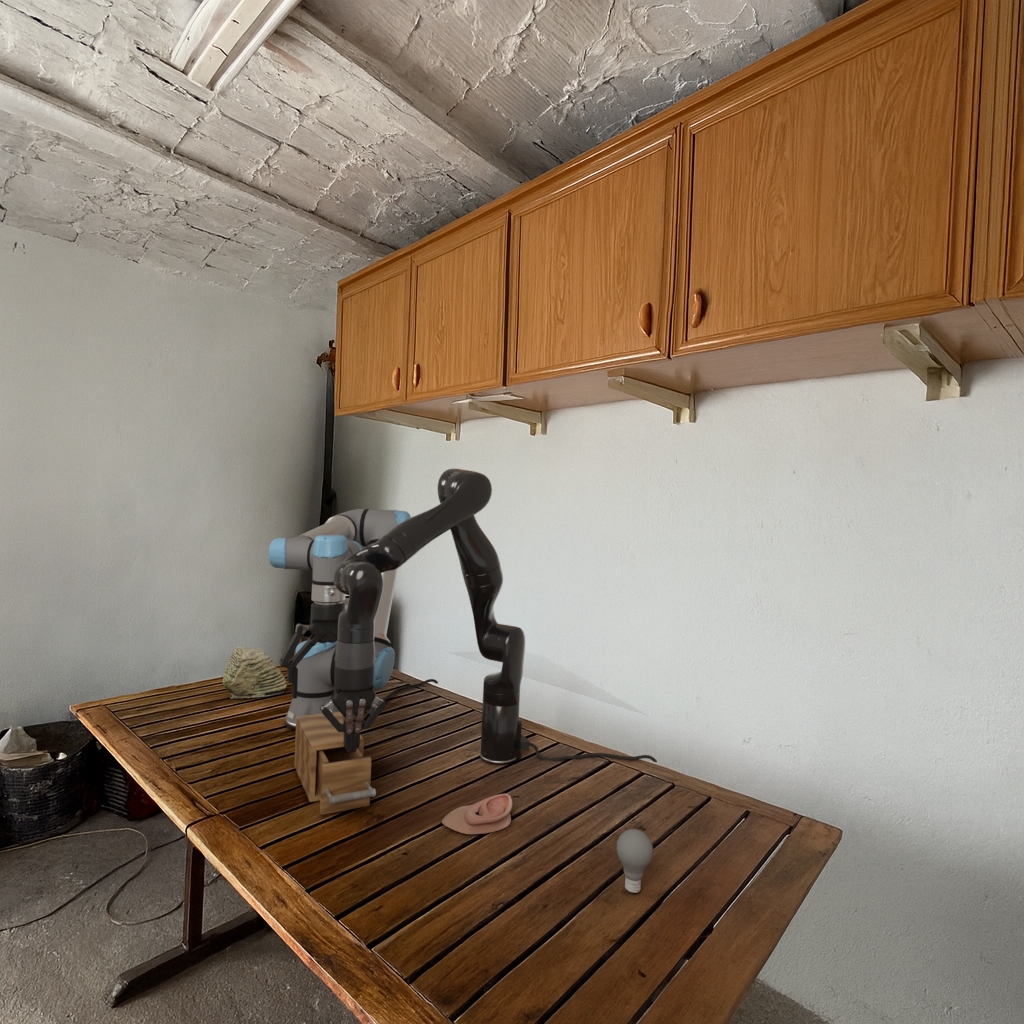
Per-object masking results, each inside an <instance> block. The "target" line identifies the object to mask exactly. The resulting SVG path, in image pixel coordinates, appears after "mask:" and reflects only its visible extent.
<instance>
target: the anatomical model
mask: <svg viewBox="0 0 1024 1024" xmlns="http://www.w3.org/2000/svg"><path fill="white" fill-rule="evenodd" d="M512 809H513V799H512V796H511V795H510V794H509V793H500V794H496V795H492V796H489V797H486V798H484V799H482V800H480V801H478V802H476V803H473V804H470V805H463V806H462V805H461V806H459V807H457V808H455V809H453V810H451V811H450V812H448V813H447V814H446V815H445V816H444V817H443V818H442V819H441V824H443V826H445V827H446V828H449V829H450V830H452V831H455V832H458V833H461V834H464V835H480V834H482V835H483V834H488V833H489V834H490V833H494V832H497V831H500V830H504V829H505V828H507V827H509V825H510V824H511V823H512V818H511V817H512V816H511V812H512Z"/></svg>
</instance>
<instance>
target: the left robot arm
mask: <svg viewBox="0 0 1024 1024" xmlns="http://www.w3.org/2000/svg"><path fill="white" fill-rule="evenodd" d="M411 517H412V516H411V514H410V513H409V512H408V511H406V510H397V509H374V508H373V509H371V508H357V509H356V508H355V509H351V510H348V511H343V512H341V513H338V514H335V515H333V516H331V517H329V518H328V519H327V520H326V521H325V522H324V524H322V525H320V526H316V527H315V528H313V529H310V530H308V531H306V532H304V533H302V534H300V535H297V536H295V537H292V538H289V537H277V538H274V539H273V540H272V541H271V542H270V544H269V547H268V553H267V554H268V562H269V564H270V565H271V567H273V568H275V569H284V570H302V571H303V570H305V571H312V581H311V601H312V603H311V604H310V622H309V624H302V623H297V624H296V625H295V629H294V634H293V635H292V636H291V637H292V638H291V639H290V641H289V643H288V644H287V647H286V648H285V650H284V652H283V654H282V656H281V657H280V659H279V662H278V663H279V665H280V667H281V668H285V669H287V675H286V676H287V677H286V679H287V680H286V681H287V683H288V684H291V697H292V699H291V702H290V704H289V708H288V711H287V713H286V715H285V726H286V728H287V729H289V730H291V731H294V732H296V717H298V716H306V715H315V714H323V713H322V712H321V710H320V706H321V705H325V704H327V703H328V702H329V701H330V700H331V695H332V694H333V692H334V676H335V653H336V646H337V634H338V619H339V614H340V613H341V612H342V611H343V610H345V609H346V604H345V603H344V602H345V601H346V594H344V593H342V592H340V591H339V590H338V589H337V588H336V587H335V584H334V573H335V571H336V569H337V567H338V566H339V565H340V564H341V563H342V562H343V561H344V560H345V559H347V558H348V557H350V556H351V555H353V554H355V553H357V552H358V551H360V550H362V549H364V548H366V547H368V546H370V545H372V544H374V543H375V542H377V541H378V540H379V539H380V538H381V537H383V536H384V535H385V534H386V533H388V532H389V531H390V530H392V529H393V528H394V527H395V526H397V525H398V524H400V523H402V522H403V521H405V520H407V519H409V518H411ZM397 575H398V569H396V570H392V571H386V572H383V573H382V577H383V591H382V596H381V599H380V603H379V607H378V611H377V613H376V616H375V631H374V646H375V665H374V691H376V690H377V691H378V690H382V689H384V688H385V687H386V686H387V684H388V683H389V681H390V680H391V679H390V678H391V677H392V674H393V671H394V666H395V658H396V653H395V649H394V648H393V647H392V646H391V641H390V639H389V638H388V637H387V634H388V627H389V622H390V615H391V610H392V604H393V599H394V598H393V597H394V592H395V587H396V580H397ZM307 631H308V632H309V633H310V634H311V635H310V636H309V637H308V638H307V640H304V641H302V642H300V641H301V639H302V636H304V635H305V634H306V633H307ZM294 652H295V654H294ZM293 654H294V655H293ZM292 656H293V657H292ZM291 657H292V658H291ZM428 683H435V684H437V685H438V684H439V681H438V680H436V679H434V678H429V679H425V680H424V681H420V682H418V683H414V684H409V685H405V686H400V687H398V688H396V689H394V690H392V692H390V693H389V694H387V695H386V696H385V697H384V698H383V699H382V700H383V701H384V702H385V703H386V701H387V700H388V699H390V698H391V697H393V696H394V695H395V694H396V693H399V692H400V691H404V690H407V689H411V688H416V687H420V686H423V685H426V684H428ZM371 704H372V703H371ZM371 704H370V706H369V707H368V709H371V707H372V706H371ZM333 708H334V712H340V711H339V710H338V709H337V707H336V706H335V705H334V707H333Z"/></svg>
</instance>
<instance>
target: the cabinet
mask: <svg viewBox="0 0 1024 1024" xmlns="http://www.w3.org/2000/svg"><path fill="white" fill-rule="evenodd" d="M333 715H334V716H335V717H336V719H337V720H338V721H339V722H340V723H342V724H343V716H342V714H341V713H340V712H334V713H333ZM343 743H344V732H338V731H337V730H336V729H335V728H334V726H333V725H332V724H331V723H330V722H329V720H328V719H327V718H326V717H325V716H324V715H323V714H315V715H306V716H298V717H296V731H295V739H294V762H293V763H294V765H293V766H294V768H295V771H296V773H297V776H298V778H299V780H300V783H301V785H302V787H303V789H304V792H305V795H306V797H307V799H308V801H309V803H312V802H313V803H314V802H318V801H319V802H320V798H319V796H318V793H317V791H316V789H315V783H316V757H317V750H324V749H331V748H338V747H344V745H343ZM364 745H365V739H364V737H363V736H362V734H360V746H359V748H358V749H359V751H360V752H361V754H362V755H363V756H364V752H365V751H364V749H365V746H364Z"/></svg>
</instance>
